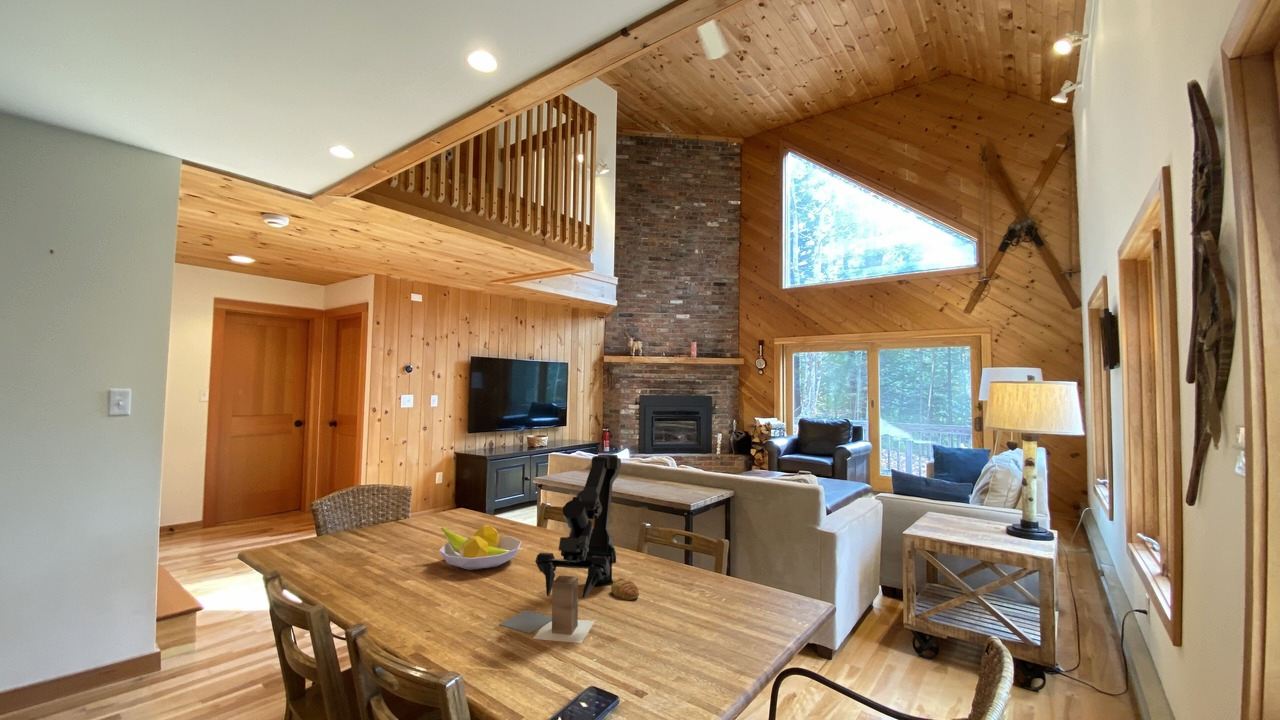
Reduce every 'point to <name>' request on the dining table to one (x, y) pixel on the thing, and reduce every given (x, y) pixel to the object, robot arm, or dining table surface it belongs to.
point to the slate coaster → (527, 621)
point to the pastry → (624, 589)
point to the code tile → (576, 637)
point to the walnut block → (564, 605)
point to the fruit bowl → (479, 549)
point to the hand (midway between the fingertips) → (565, 596)
